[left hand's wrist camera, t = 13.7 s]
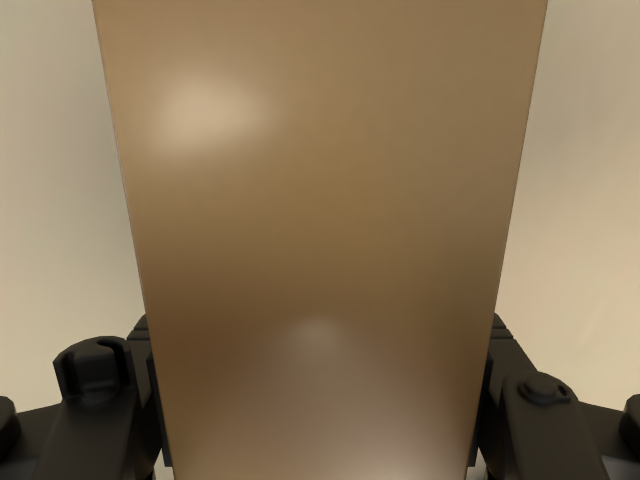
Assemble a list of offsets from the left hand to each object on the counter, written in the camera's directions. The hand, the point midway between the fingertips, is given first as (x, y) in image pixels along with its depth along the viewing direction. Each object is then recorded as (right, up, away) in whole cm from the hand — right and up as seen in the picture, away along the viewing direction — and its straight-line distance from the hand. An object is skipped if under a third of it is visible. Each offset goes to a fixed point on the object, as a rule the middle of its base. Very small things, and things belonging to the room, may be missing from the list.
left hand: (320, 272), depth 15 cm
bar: (0, +24, -9) cm, 26 cm away
